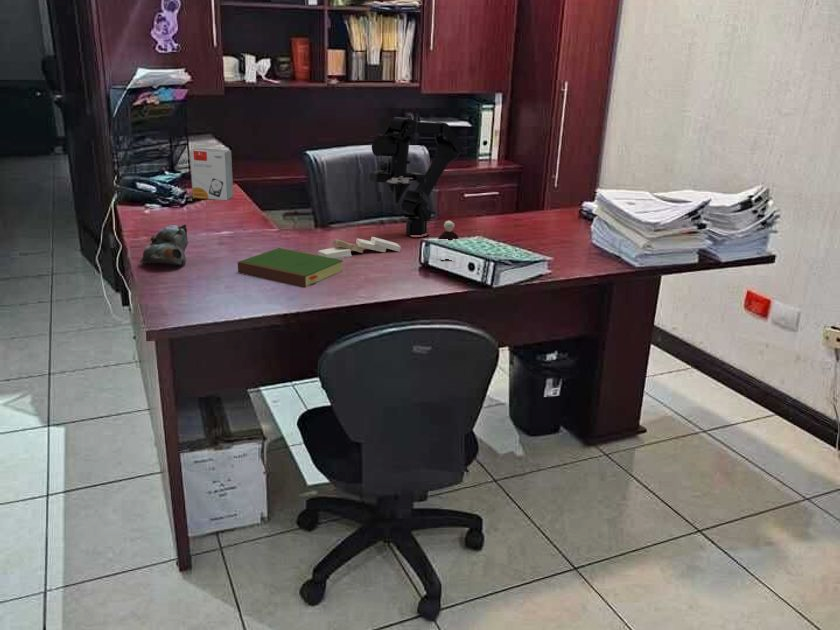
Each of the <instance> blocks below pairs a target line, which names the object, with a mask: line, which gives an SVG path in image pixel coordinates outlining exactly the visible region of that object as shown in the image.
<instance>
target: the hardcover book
mask: <svg viewBox="0 0 840 630" xmlns="http://www.w3.org/2000/svg"><path fill="white" fill-rule="evenodd" d="M343 262H344V260H343V259H340V258H339V259H333V258H328V257H323V256H318V255H316V254H312V253H307V252H302V251H298V250H293V249H292V250H291V249H287V248H281V247H278V248H275V249H272V250H268V251H266V252H263V253H260V254H257V255H254V256H251V257H249V258H246V259H242V260H239V261H237V273H238V272H240V273H239V274H242V273H244V274H243V275H246V274H248V276H251V275H252V277H255V276H256V278H261V279H266V280H269V281H273V282H279V283H283V284H286V285H287V284H288V285H292V286H297V287H301V288H306V287H309V286H311V285H312V284H315V283H317V282H319V281H322V280H324V279H326V278H328V277H331V276H333V275H336V274H338V273H341V272H342V271H343Z"/></svg>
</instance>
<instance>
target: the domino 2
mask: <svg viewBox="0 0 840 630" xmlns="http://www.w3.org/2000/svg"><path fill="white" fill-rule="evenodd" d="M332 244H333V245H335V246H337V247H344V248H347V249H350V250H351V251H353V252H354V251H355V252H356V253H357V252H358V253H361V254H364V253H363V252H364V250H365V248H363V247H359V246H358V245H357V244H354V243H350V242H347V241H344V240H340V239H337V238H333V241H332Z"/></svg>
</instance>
